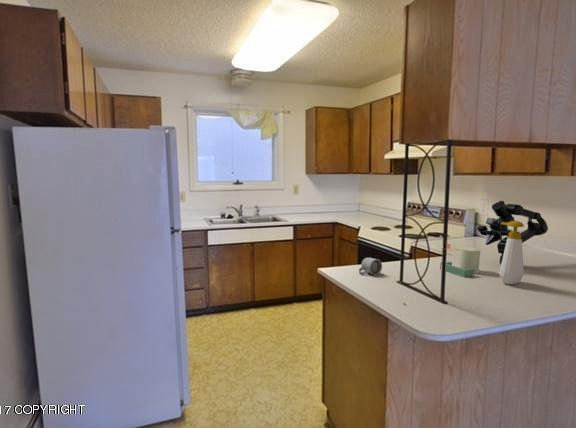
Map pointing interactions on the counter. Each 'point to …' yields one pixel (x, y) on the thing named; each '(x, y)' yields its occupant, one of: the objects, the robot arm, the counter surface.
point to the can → (470, 258)
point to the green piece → (458, 270)
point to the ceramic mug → (371, 266)
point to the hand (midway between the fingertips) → (486, 244)
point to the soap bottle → (512, 256)
